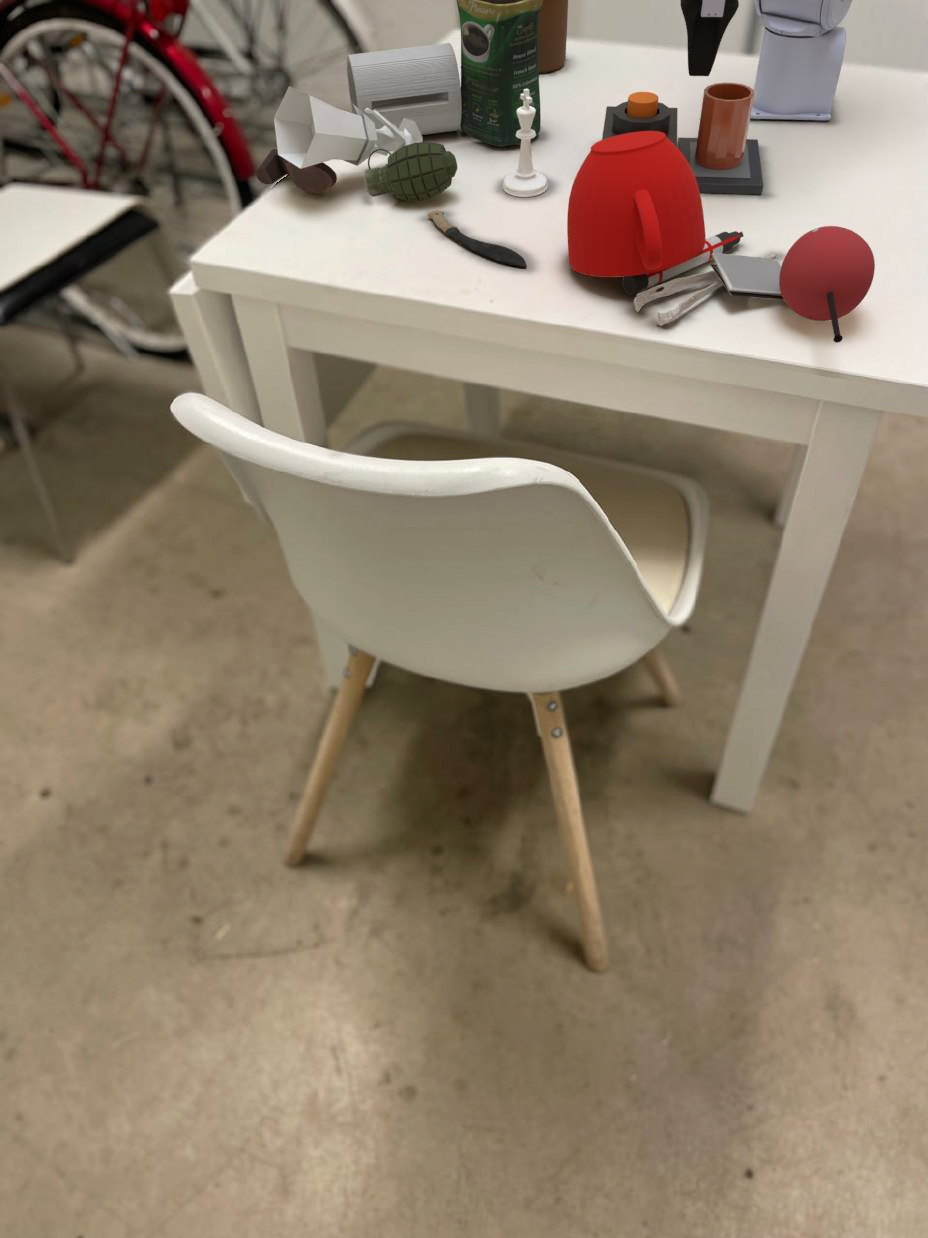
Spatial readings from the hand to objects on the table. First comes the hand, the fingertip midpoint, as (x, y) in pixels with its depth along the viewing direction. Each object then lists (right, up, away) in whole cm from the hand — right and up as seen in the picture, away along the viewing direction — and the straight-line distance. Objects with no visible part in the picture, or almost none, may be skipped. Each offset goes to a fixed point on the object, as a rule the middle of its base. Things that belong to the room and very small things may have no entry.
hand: (698, 73), depth 99 cm
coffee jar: (-20, +2, +16) cm, 26 cm away
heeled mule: (-44, -8, +6) cm, 45 cm away
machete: (-21, -18, -1) cm, 28 cm away
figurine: (-42, -6, -1) cm, 43 cm away
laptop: (+3, -25, -13) cm, 28 cm away
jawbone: (-1, -26, -9) cm, 28 cm away
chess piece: (-18, -9, +6) cm, 21 cm away
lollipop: (+5, -35, -24) cm, 43 cm away
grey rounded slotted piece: (-38, +4, +12) cm, 40 cm away
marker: (-2, -23, -8) cm, 25 cm away
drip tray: (+4, -7, +7) cm, 10 cm away
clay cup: (+4, -6, +6) cm, 9 cm away
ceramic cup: (-10, -15, -16) cm, 24 cm away
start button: (-5, -2, +4) cm, 7 cm away
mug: (-16, +18, +30) cm, 38 cm away
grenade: (-25, -8, +3) cm, 26 cm away
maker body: (-5, -6, +8) cm, 11 cm away
